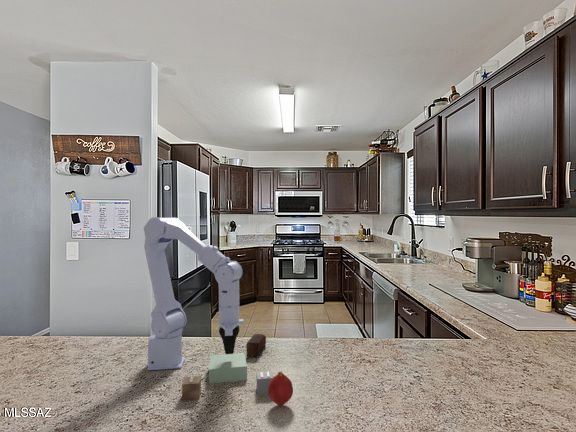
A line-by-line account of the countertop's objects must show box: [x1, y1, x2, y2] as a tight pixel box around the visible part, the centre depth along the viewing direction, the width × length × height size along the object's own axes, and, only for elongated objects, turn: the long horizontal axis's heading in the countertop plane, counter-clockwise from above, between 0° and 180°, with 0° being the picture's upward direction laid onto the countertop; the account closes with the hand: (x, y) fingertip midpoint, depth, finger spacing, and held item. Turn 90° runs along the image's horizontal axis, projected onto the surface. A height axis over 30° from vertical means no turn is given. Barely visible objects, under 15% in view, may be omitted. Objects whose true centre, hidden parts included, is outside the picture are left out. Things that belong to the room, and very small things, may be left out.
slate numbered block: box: [256, 370, 274, 396], centre depth 91 cm, size 4×4×4 cm
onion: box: [268, 370, 294, 407], centre depth 83 cm, size 6×6×8 cm
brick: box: [246, 333, 267, 358], centre depth 117 cm, size 11×4×5 cm, turn 170°
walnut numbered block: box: [181, 375, 202, 402], centre depth 88 cm, size 4×4×4 cm
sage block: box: [208, 352, 248, 384], centre depth 101 cm, size 10×10×4 cm
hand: (229, 353), depth 101 cm, fingers closed
